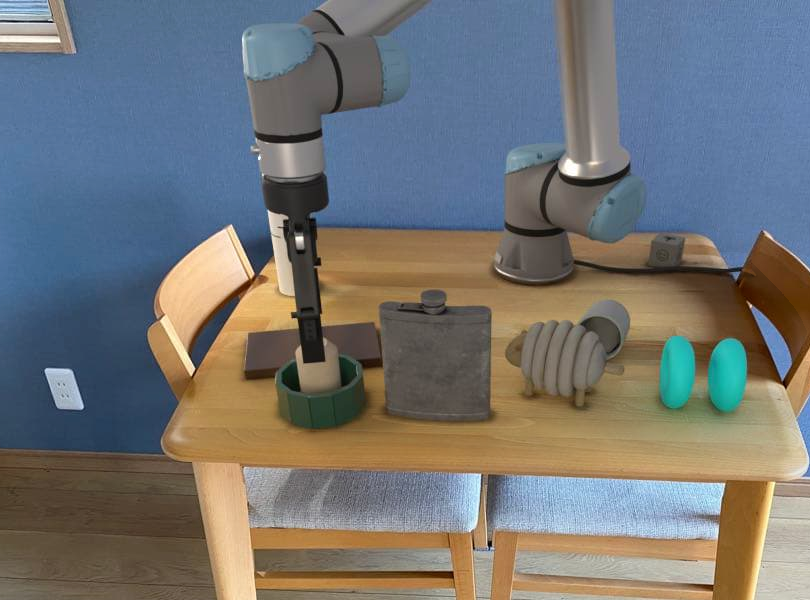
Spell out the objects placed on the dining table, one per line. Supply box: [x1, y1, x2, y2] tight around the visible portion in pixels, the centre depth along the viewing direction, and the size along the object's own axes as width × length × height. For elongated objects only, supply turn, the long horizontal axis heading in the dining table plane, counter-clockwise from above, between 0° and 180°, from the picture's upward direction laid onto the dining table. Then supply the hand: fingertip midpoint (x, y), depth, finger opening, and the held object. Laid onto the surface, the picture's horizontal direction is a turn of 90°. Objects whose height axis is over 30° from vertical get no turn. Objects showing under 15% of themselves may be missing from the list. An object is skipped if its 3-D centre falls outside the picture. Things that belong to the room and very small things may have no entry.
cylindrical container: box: [258, 154, 321, 297], centre depth 130 cm, size 7×7×25 cm
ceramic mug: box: [573, 299, 631, 361], centre depth 117 cm, size 11×8×8 cm
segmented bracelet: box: [274, 354, 367, 430], centre depth 104 cm, size 12×12×5 cm
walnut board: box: [243, 321, 383, 380], centre depth 117 cm, size 20×12×2 cm, turn 101°
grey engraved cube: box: [647, 232, 686, 268], centre depth 146 cm, size 5×5×5 cm
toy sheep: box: [504, 319, 625, 408], centre depth 104 cm, size 11×17×11 cm, turn 72°
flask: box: [378, 288, 493, 422], centre depth 98 cm, size 4×14×18 cm, turn 84°
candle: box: [295, 337, 342, 394], centre depth 102 cm, size 6×6×10 cm
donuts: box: [659, 335, 748, 413], centre depth 103 cm, size 10×10×10 cm
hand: (313, 336), depth 99 cm, fingers open, 13 cm apart
